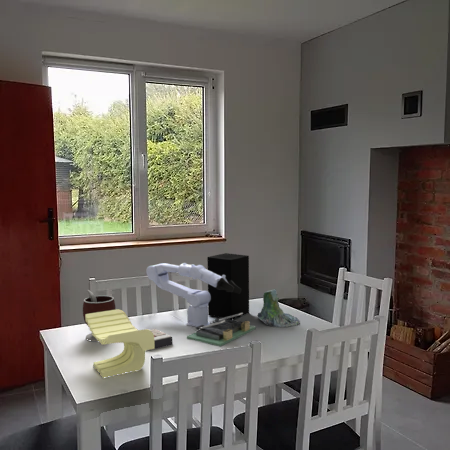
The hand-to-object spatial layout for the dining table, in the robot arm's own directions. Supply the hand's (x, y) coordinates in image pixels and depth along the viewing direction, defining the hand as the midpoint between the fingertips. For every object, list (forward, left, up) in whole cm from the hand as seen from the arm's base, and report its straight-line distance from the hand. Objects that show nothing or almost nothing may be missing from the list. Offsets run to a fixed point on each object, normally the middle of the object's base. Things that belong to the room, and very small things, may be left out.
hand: (236, 290), depth 218 cm
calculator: (-22, -31, -20) cm, 43 cm away
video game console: (-19, +21, -19) cm, 34 cm away
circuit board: (-5, -5, -19) cm, 20 cm away
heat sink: (-4, -5, -18) cm, 19 cm away
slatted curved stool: (-14, -58, -19) cm, 63 cm away
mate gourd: (-48, -38, -19) cm, 64 cm away
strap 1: (-5, -12, -13) cm, 19 cm away
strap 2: (-5, +2, -13) cm, 14 cm away
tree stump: (+8, +24, -19) cm, 31 cm away
